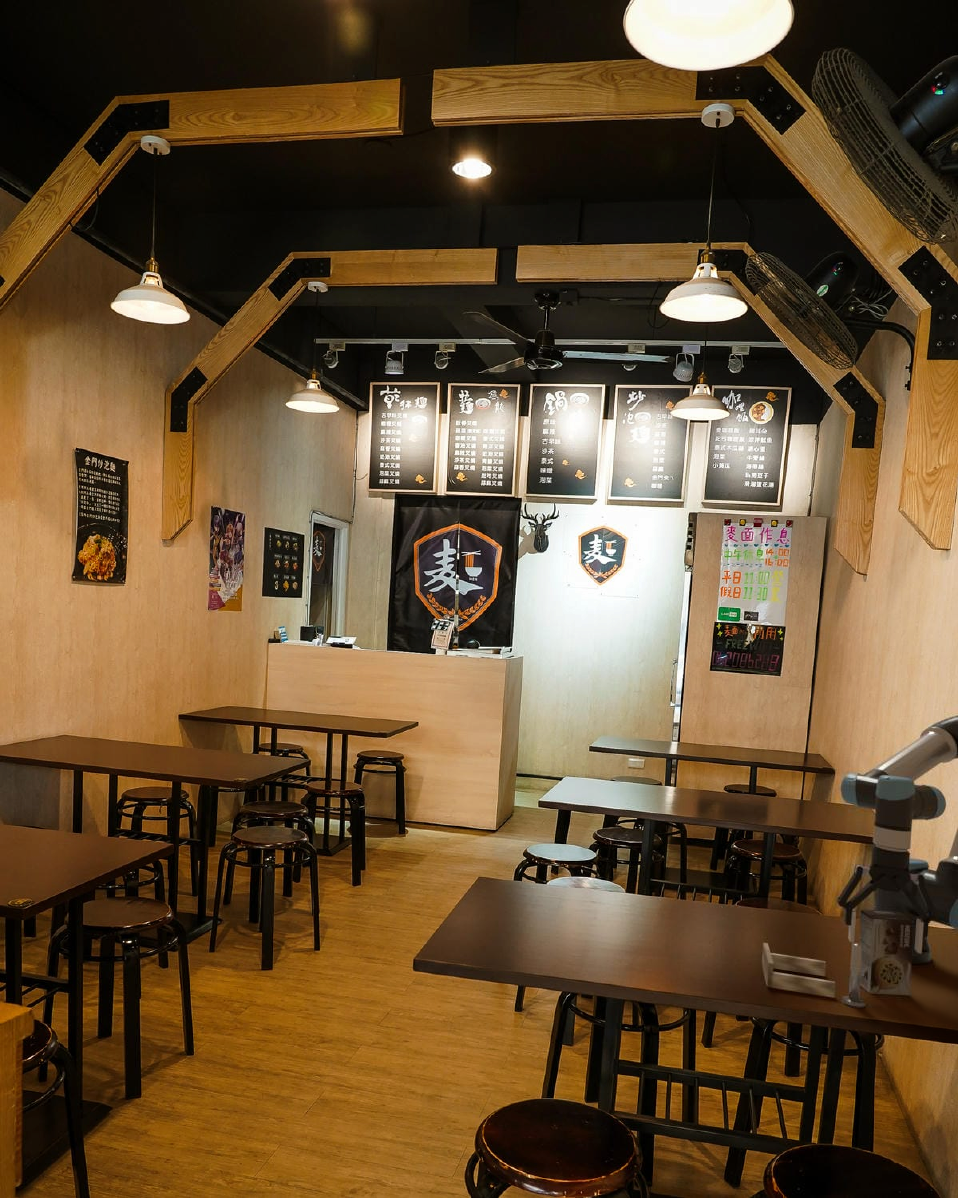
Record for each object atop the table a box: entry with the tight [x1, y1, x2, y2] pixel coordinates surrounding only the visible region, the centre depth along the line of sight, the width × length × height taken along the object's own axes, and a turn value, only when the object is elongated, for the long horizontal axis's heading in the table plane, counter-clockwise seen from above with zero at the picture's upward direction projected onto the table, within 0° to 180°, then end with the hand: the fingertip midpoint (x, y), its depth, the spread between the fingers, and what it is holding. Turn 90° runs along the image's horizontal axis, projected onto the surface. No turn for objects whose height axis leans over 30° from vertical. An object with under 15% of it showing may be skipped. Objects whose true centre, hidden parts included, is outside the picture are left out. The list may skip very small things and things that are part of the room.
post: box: [841, 942, 866, 1009], centre depth 185 cm, size 4×4×12 cm
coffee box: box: [858, 909, 913, 996], centre depth 195 cm, size 9×6×16 cm
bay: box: [761, 942, 836, 999], centre depth 195 cm, size 14×14×5 cm
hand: (884, 946), depth 195 cm, fingers open, 13 cm apart
